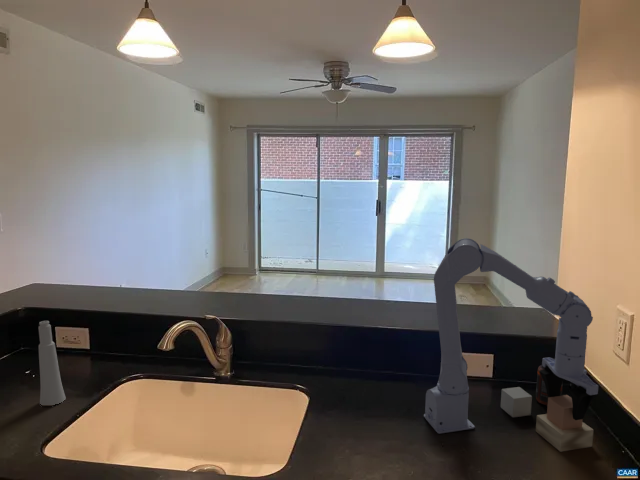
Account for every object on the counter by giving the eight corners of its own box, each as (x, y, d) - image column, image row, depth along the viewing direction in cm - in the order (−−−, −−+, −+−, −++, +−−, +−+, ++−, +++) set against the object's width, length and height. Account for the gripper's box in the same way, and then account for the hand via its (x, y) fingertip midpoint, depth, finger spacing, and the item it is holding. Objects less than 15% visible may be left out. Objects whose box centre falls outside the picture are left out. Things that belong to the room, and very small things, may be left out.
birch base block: (560, 451, 101) (561, 434, 101) (535, 431, 109) (536, 415, 108) (591, 446, 103) (593, 429, 102) (565, 426, 111) (566, 410, 110)
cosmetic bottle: (63, 404, 123) (55, 324, 119) (37, 409, 121) (27, 327, 117) (67, 394, 128) (59, 316, 125) (42, 398, 126) (33, 319, 123)
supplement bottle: (564, 408, 119) (567, 366, 117) (538, 406, 120) (541, 364, 118) (557, 397, 124) (560, 356, 123) (533, 395, 126) (536, 354, 124)
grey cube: (512, 417, 115) (513, 398, 114) (500, 407, 120) (501, 389, 119) (530, 415, 116) (532, 396, 115) (518, 405, 121) (519, 386, 120)
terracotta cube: (562, 430, 102) (564, 408, 101) (546, 418, 107) (548, 397, 106) (581, 427, 103) (583, 405, 103) (565, 415, 108) (567, 394, 107)
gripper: (613, 363, 96) (606, 424, 99) (562, 338, 110) (557, 392, 113) (583, 367, 95) (578, 429, 97) (535, 340, 109) (532, 395, 111)
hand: (565, 409), depth 105 cm, fingers open, 7 cm apart
